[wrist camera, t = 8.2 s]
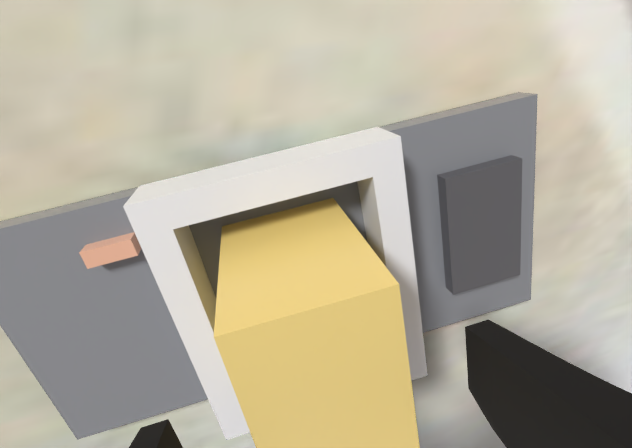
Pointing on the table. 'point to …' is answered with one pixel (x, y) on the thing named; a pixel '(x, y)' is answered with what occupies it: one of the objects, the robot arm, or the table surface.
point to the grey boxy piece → (247, 203)
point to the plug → (313, 333)
